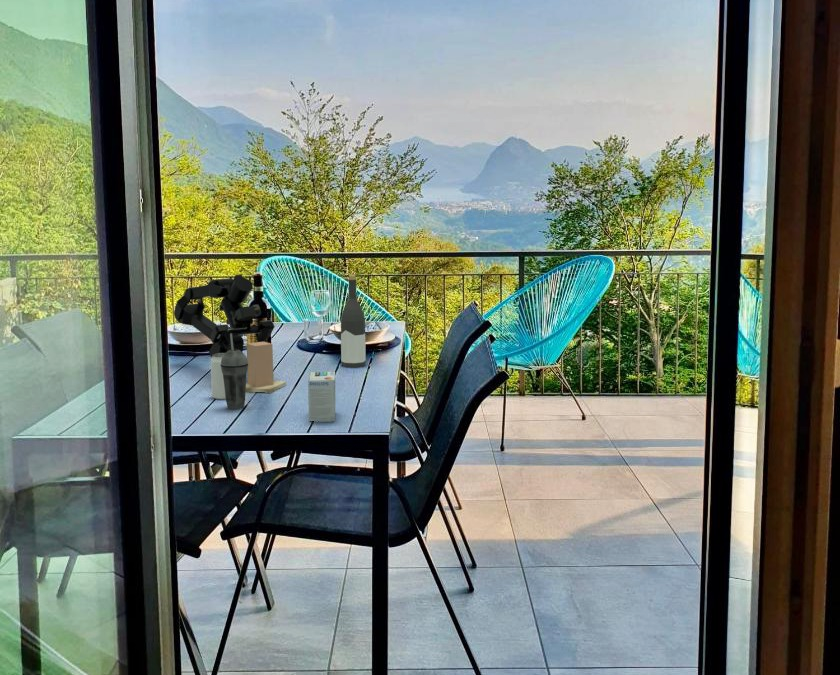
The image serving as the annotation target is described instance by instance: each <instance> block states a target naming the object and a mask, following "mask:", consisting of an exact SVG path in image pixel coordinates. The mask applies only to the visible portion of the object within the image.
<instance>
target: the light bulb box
mask: <svg viewBox="0 0 840 675" xmlns="http://www.w3.org/2000/svg"><path fill="white" fill-rule="evenodd" d="M307 381H308V384H307V388H308V393H307V394H308V397H307V398H308V422H309V423H311V422H310V421H314V422H313V423H323V422H324V423H331V422H332V421H334V422H335V420H336V372H335V371H311V372H309V377H308V380H307ZM315 421H316V422H315ZM318 421H319V422H318ZM332 423H333V422H332Z"/></svg>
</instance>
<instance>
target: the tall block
mask: <svg viewBox="0 0 840 675" xmlns="http://www.w3.org/2000/svg"><path fill="white" fill-rule="evenodd" d="M273 346H274V345H273V343H270V342H268V341H267V342H258V341H257V342H248V343H246V357H247V360H248V369H247V382H248V384H249V385H252V386H255V387H261V386H268V385H274V381H275V380H274V356H273V355H274V354H273V352H274V351H273V350H274V349H273Z"/></svg>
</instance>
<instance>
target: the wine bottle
mask: <svg viewBox="0 0 840 675" xmlns="http://www.w3.org/2000/svg"><path fill="white" fill-rule="evenodd" d="M356 278H357V276H356V274H349V275H348V299H347V302H346V303H345V306H344V307H343V310H342V314H341V318H340V351H341V352H340V353H341V354H340V357H341V360H340V361H341V362H340V363H341V367H343V366H344V367H343V368H349V369H352V368H353V369H355V368H364V367H365V366H366V361H367V360H366V353H367V352H366V317H365V313H364V311H363V310H364V309H363V308H362V306H361V304H360V303H359V300H358V299H357V279H356Z"/></svg>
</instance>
